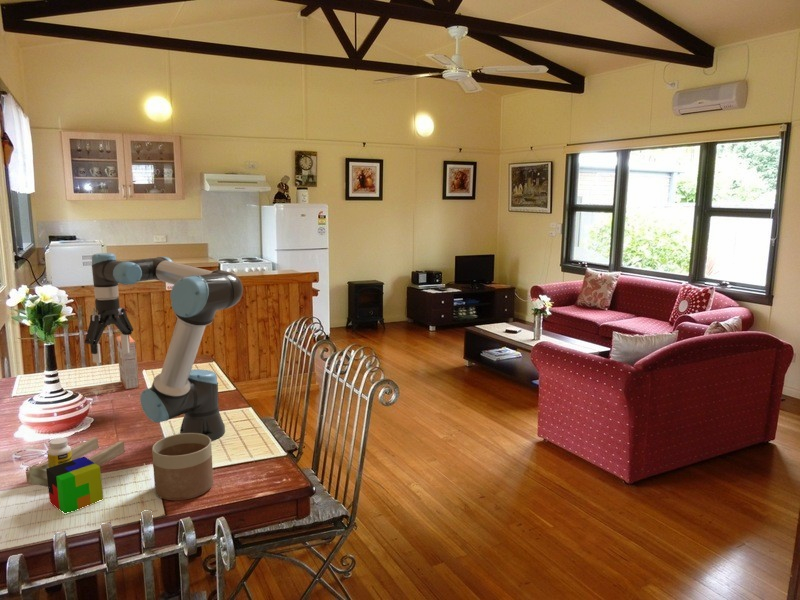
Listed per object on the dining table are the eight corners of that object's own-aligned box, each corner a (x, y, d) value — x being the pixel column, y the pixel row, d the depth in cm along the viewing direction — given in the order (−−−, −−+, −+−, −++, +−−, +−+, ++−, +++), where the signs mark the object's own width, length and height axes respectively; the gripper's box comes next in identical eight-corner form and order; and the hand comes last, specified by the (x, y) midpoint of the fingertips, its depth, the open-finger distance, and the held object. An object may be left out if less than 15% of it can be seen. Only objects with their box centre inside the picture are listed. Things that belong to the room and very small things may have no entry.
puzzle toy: (87, 488, 171) (84, 456, 169) (103, 500, 165) (100, 466, 163) (49, 502, 164) (46, 468, 162) (65, 515, 157) (61, 480, 155)
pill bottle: (60, 481, 175) (57, 446, 173) (44, 477, 177) (41, 443, 175) (77, 472, 181) (75, 438, 179) (62, 468, 183) (59, 435, 181)
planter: (165, 476, 179) (162, 433, 176) (218, 474, 180) (216, 432, 178) (147, 503, 163) (143, 456, 161) (205, 501, 165) (203, 455, 162)
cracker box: (119, 381, 266) (115, 336, 262) (133, 379, 269) (130, 334, 266) (124, 390, 255) (120, 343, 251) (139, 387, 258) (136, 341, 254)
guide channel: (124, 451, 195) (123, 437, 194) (59, 488, 171) (58, 472, 170) (94, 446, 199) (93, 432, 198) (27, 482, 174) (25, 467, 173)
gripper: (123, 291, 218) (128, 347, 222) (69, 303, 194) (75, 365, 198) (141, 292, 216) (145, 349, 220) (87, 305, 192) (93, 368, 196)
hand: (111, 357), depth 209 cm, fingers open, 13 cm apart
